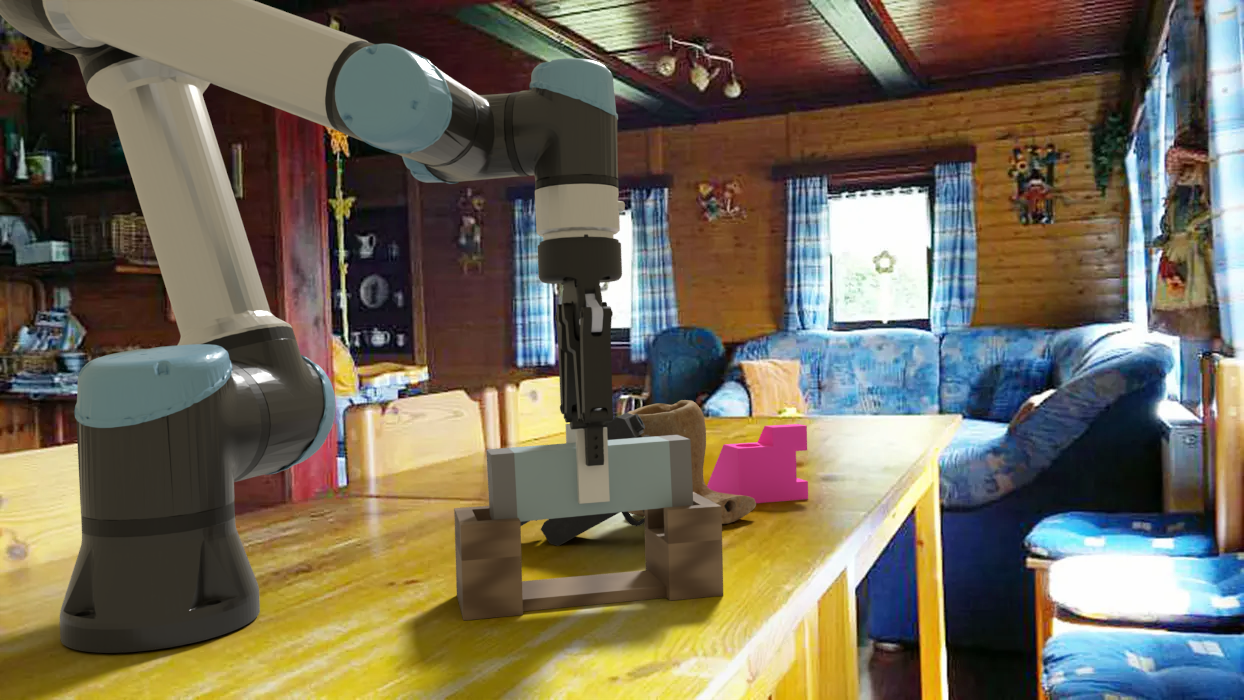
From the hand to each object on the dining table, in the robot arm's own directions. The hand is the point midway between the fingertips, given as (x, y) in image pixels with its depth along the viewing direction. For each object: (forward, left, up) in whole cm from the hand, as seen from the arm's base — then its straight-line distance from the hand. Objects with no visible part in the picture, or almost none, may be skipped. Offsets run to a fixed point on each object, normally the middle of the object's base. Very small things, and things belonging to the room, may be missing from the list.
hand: (588, 496), depth 85 cm
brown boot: (+18, +29, -9) cm, 35 cm away
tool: (+6, +21, -9) cm, 24 cm away
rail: (0, 0, -1) cm, 1 cm away
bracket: (+33, +43, -9) cm, 55 cm away
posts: (0, 0, -9) cm, 9 cm away
